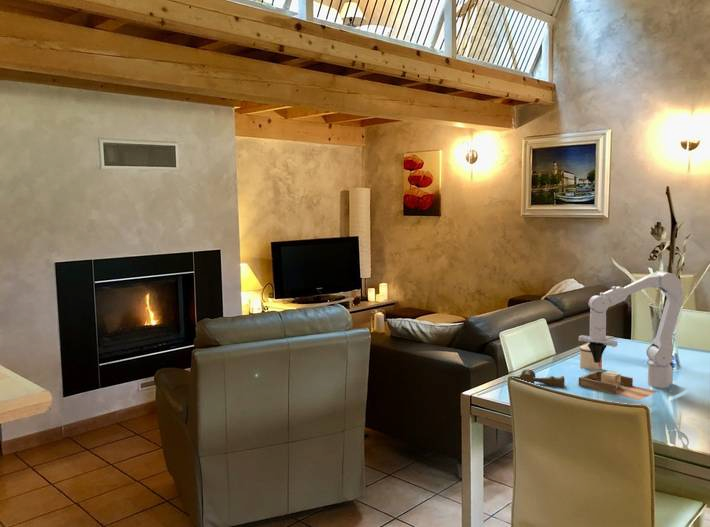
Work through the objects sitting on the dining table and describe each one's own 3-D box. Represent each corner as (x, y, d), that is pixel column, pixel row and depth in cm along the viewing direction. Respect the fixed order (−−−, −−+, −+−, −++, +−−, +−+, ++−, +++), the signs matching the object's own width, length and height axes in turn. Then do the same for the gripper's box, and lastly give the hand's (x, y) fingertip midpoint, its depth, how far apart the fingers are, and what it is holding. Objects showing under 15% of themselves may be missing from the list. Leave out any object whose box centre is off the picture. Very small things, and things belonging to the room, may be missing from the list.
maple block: (607, 383, 225) (607, 371, 224) (620, 386, 221) (620, 373, 220) (600, 386, 222) (601, 373, 221) (613, 389, 218) (614, 376, 217)
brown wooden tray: (597, 380, 233) (597, 370, 232) (657, 393, 215) (657, 383, 215) (578, 387, 224) (578, 377, 223) (639, 402, 206) (639, 391, 206)
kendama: (563, 394, 219) (508, 387, 226) (564, 387, 228) (511, 381, 235) (564, 378, 218) (509, 372, 226) (565, 372, 227) (512, 366, 235)
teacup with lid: (604, 372, 244) (605, 344, 243) (581, 371, 246) (581, 343, 245) (599, 364, 255) (599, 338, 254) (577, 363, 258) (577, 337, 256)
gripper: (574, 325, 226) (574, 360, 228) (611, 331, 215) (610, 367, 217) (584, 323, 231) (583, 357, 232) (620, 328, 220) (619, 364, 221)
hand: (597, 362), depth 225 cm, fingers closed
